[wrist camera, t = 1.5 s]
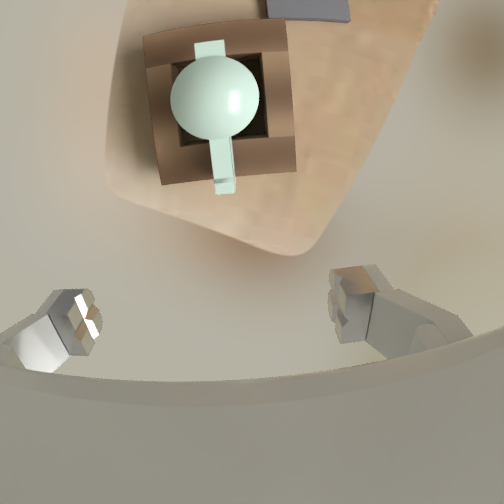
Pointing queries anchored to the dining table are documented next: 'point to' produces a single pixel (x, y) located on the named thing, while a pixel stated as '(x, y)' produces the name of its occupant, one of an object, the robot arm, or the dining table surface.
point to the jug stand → (244, 146)
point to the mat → (309, 10)
